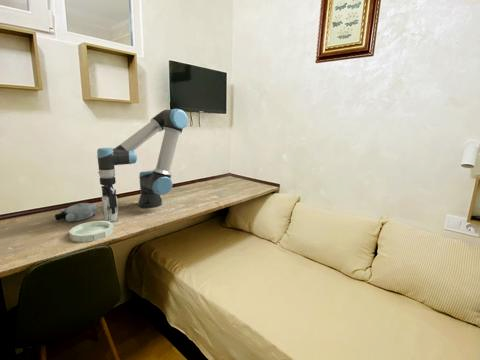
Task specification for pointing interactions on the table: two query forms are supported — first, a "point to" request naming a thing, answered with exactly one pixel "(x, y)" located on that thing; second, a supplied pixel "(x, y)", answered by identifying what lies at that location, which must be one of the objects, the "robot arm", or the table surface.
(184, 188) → the table surface
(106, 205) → the syrup box
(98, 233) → the round bowl
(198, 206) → the table surface
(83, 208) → the figurine
